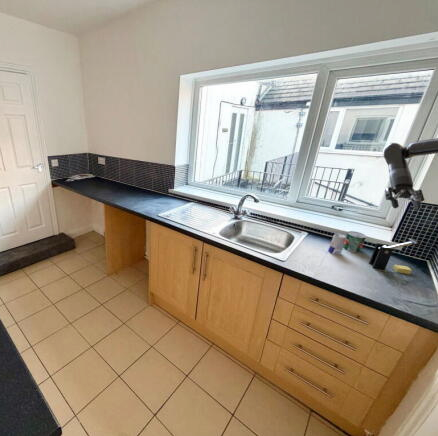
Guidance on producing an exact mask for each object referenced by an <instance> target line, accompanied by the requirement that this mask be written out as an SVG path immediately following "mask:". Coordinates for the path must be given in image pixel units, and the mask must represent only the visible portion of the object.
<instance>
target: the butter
mask: <svg viewBox="0 0 438 436" xmlns="http://www.w3.org/2000/svg"><path fill="white" fill-rule="evenodd" d="M392 269H393V270H394V271H395V272H396V273H401V274H406V275H411V273H412V271H413V270H412V269H411V268H410V267H409V266H407V265H400V264H393V267H392Z"/></svg>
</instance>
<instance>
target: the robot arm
mask: <svg viewBox="0 0 438 436" xmlns="http://www.w3.org/2000/svg"><path fill="white" fill-rule="evenodd" d="M434 154H438V138H436V137H435V138H429V139H423V140H417V141H413V142H411V143H409V145H408V146H403V145H401V144H400V143H397V142H390V143H388V144H386V145H385V146H384V148H383V150H382V155H383V158H384V160H385V163H386V164H387V168H388V173H389V182H390V186H388V187H387V188H385V189H384V195H385V200H387V201H390V203H391V207H392V208H393V209H398V208H399V207H400V206H399V200H398V199H407V200H408V201H411V203H412V206H413V210H414V211H418V210H420V209H421V203H422V202H424V201H425V197H424V193H423V190H422V189H418V190H417V189H414V188H413V187H414V182H413V176H412V173H411V171H410V167H409V163H408V161H407V159H411V158H413V157H418V156H427V155H434Z"/></svg>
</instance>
